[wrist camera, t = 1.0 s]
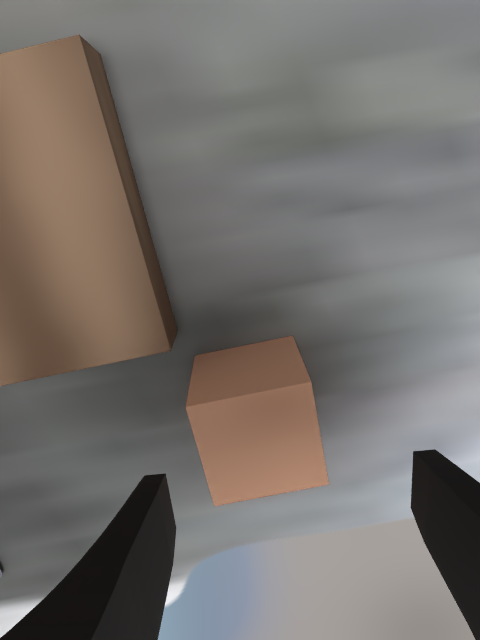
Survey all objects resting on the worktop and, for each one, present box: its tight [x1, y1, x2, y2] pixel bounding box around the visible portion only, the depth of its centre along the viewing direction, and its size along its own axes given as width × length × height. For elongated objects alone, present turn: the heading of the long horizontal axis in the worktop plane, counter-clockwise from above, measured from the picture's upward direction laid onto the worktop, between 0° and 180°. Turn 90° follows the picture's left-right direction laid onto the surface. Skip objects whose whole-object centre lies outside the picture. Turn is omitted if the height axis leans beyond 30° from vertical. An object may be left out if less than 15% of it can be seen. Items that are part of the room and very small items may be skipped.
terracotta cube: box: [186, 336, 329, 506], centre depth 20 cm, size 5×5×5 cm
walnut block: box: [0, 35, 177, 386], centre depth 18 cm, size 12×12×3 cm
